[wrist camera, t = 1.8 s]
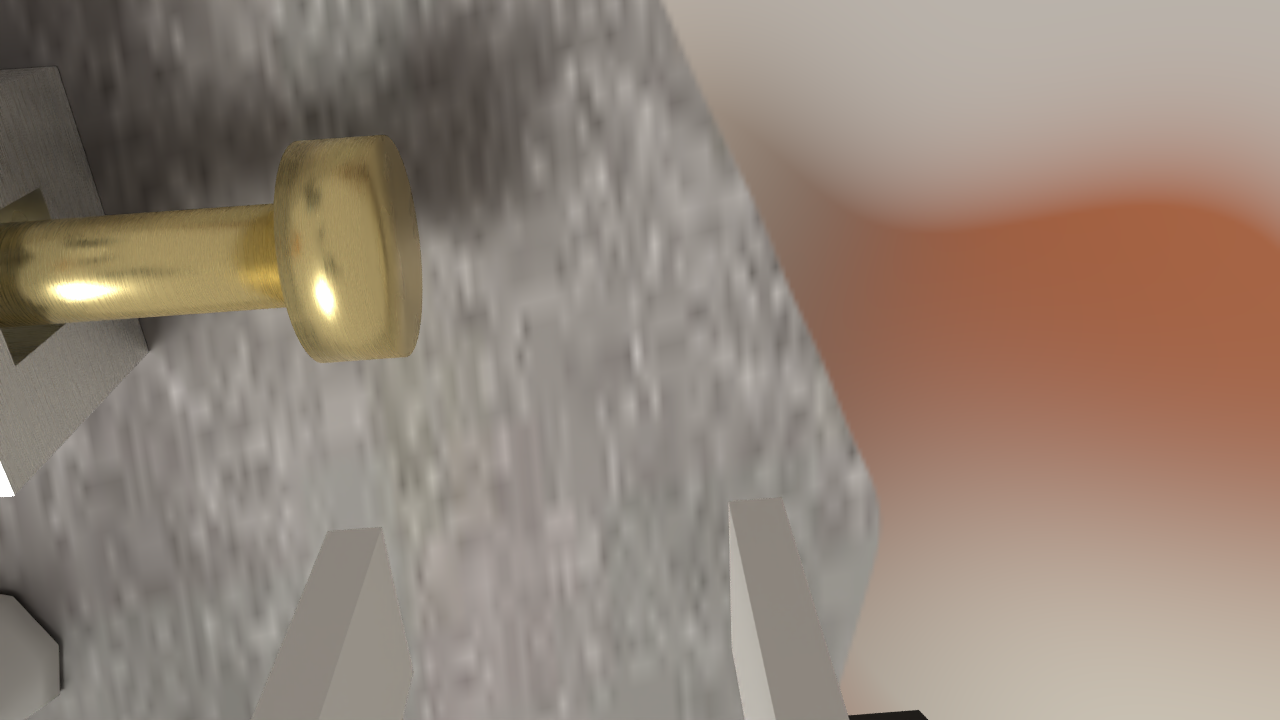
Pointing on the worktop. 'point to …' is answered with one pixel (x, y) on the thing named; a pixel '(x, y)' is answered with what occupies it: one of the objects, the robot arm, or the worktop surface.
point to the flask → (25, 663)
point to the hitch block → (54, 353)
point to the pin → (244, 257)
